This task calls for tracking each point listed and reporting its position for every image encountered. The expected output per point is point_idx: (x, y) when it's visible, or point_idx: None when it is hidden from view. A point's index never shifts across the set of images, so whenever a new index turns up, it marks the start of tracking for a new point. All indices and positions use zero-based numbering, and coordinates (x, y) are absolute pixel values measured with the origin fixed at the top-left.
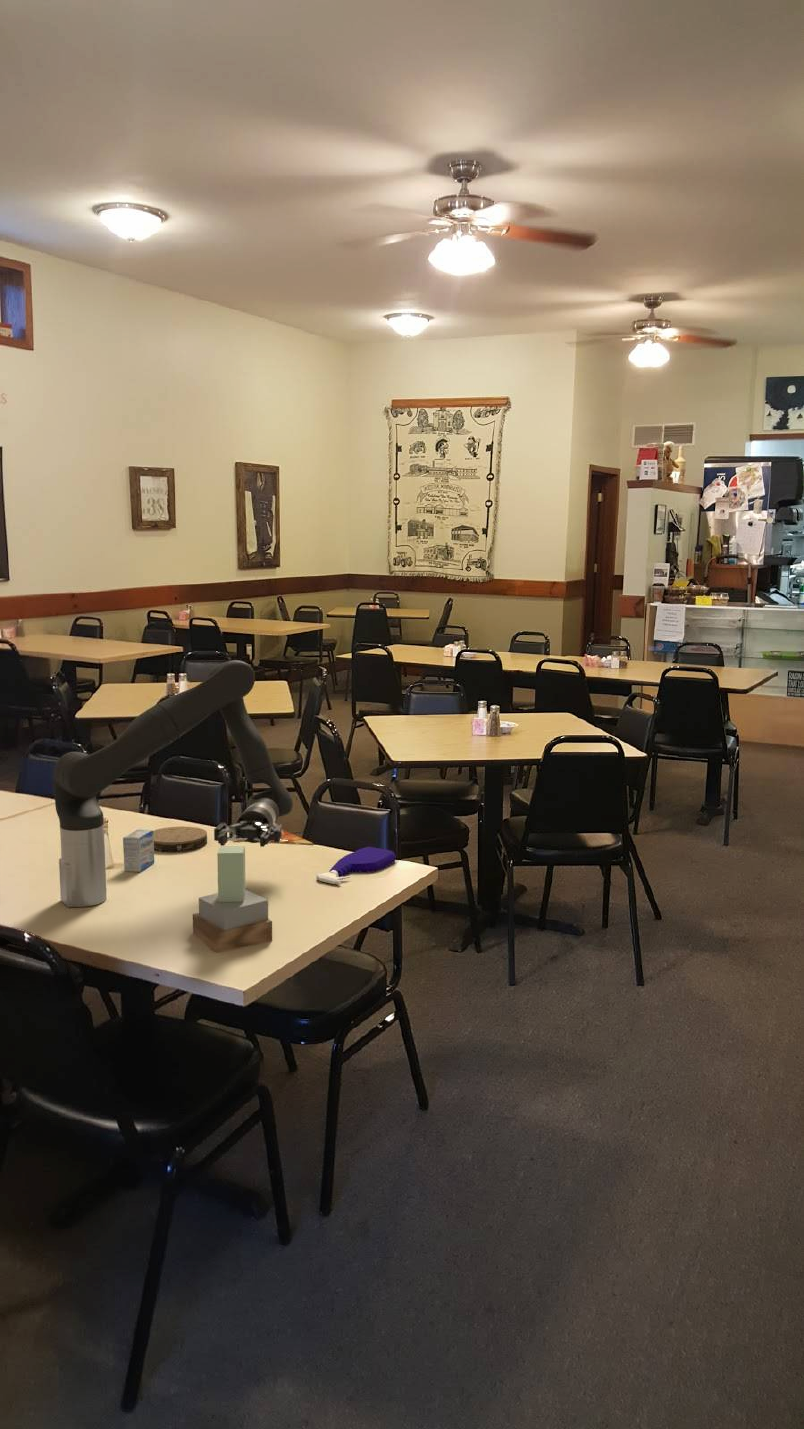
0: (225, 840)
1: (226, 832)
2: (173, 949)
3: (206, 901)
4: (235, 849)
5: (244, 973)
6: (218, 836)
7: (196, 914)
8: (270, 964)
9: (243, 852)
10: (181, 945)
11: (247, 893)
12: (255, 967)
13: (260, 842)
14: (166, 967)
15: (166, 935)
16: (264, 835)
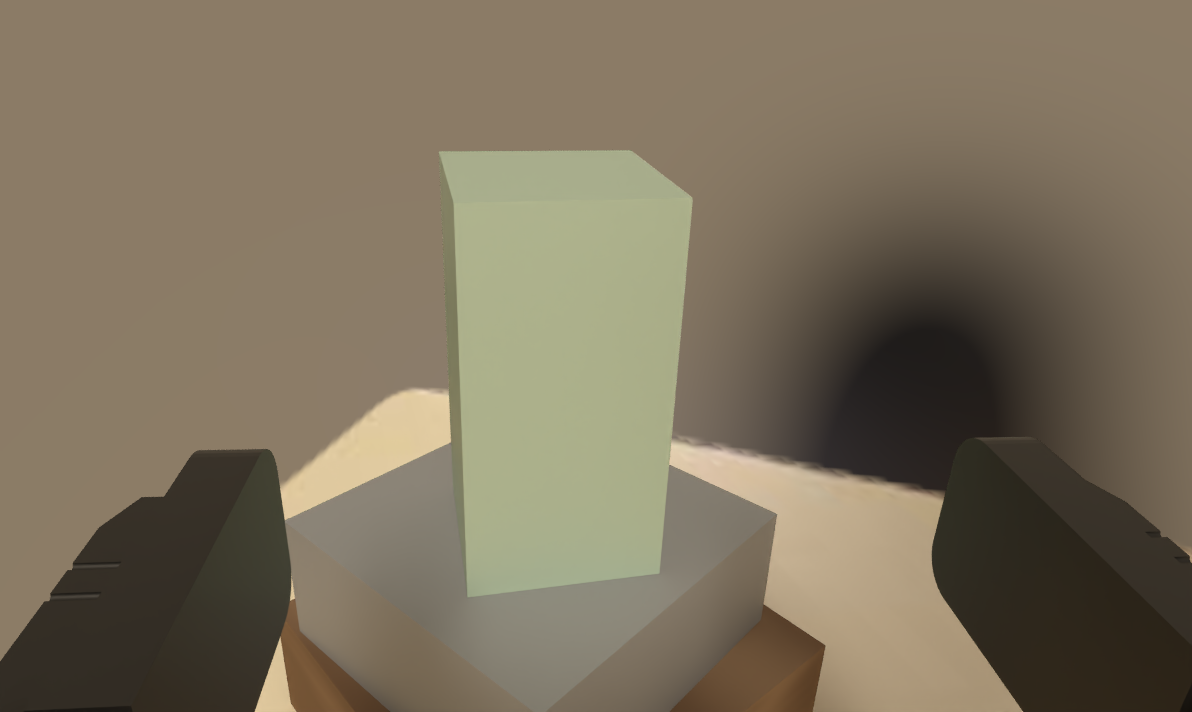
0: (1025, 639)
1: (1138, 595)
2: (775, 566)
3: (692, 477)
4: (520, 174)
5: (409, 446)
6: (1120, 504)
7: (799, 646)
8: (310, 498)
9: (443, 176)
10: (766, 602)
11: (453, 602)
12: (372, 477)
13: (279, 523)
14: (704, 457)
15: (933, 697)
16: (159, 507)
